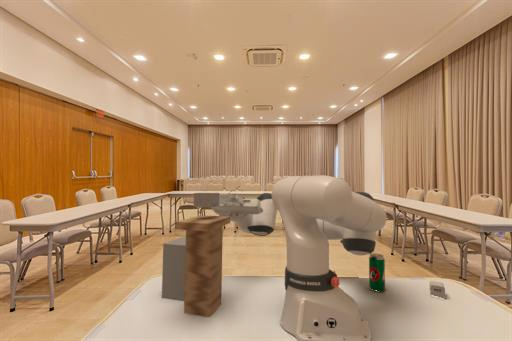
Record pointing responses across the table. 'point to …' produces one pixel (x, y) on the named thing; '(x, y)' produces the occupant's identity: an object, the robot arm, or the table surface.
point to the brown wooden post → (203, 263)
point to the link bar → (212, 199)
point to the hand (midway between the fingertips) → (229, 196)
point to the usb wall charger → (437, 289)
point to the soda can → (377, 272)
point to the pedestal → (174, 269)
